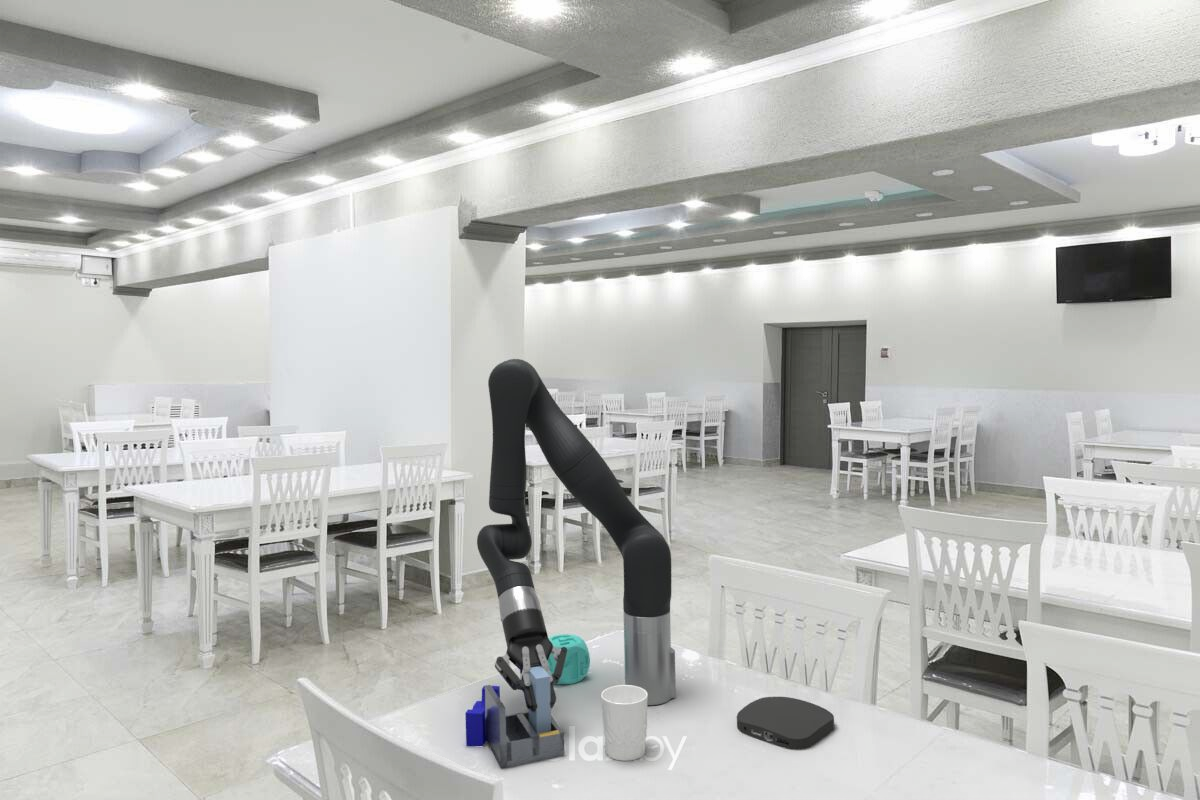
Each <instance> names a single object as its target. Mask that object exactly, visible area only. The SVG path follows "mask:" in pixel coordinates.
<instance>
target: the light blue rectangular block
mask: <svg viewBox="0 0 1200 800" xmlns="http://www.w3.org/2000/svg"><path fill="white" fill-rule="evenodd" d="M530 669H531V670H530V677H531V686H532V687H533V691H534V695H535V700H536V704H537V708H536V711H535V712H531V709H528V711H529V723H530V725H531V726H532V728H533V729H534V731H535V732H536V734H537V735H538V736H539V734H540V733H545V732H550V731H551V716H552V715H551V714H552V712H551V709H552V708H551V706H550V702H551V701H550V676H549V675H548V673H547V672H546V671H545V670H544V668H542V667H541V666H538V667H531V668H530Z"/></svg>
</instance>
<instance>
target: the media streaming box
mask: <svg viewBox="0 0 1200 800" xmlns="http://www.w3.org/2000/svg"><path fill="white" fill-rule="evenodd" d="M736 728H737V730H738V731H739V732H741V733H742V734H744V735H746V736H748V737H752V738H754V739H758V740H760V741H763V742H766V743H769V744H771V745H775V746H777V747H780V748H784V749H788V750H795V751H798V750H800V751H801V750H806V749H809V748H812V747H814V746H815V745H816V744H818V743H819V742H820V741H822V740H823V739H825V738H826V737H827V736H828V735H829V734H831V733H832V732H833V731H834V730H835V715H833V713H832V712H830V711H829V710H828V709H826V708H824V707H822V706H821V705H818V704H814V703H812V702H809V701H807V700H802V699H799V698H794V697H789V696H766V697H765V696H764V697H760V698H758V699H755V700H753V701H752V702H749V703H748V704H747V705H745V706H744V707H743V708H741V709H740V710H739V711H738V712H737V714H736Z"/></svg>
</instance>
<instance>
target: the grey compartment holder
mask: <svg viewBox="0 0 1200 800" xmlns="http://www.w3.org/2000/svg"><path fill="white" fill-rule="evenodd" d="M484 686H485V711H486V743H487V745H488V747H489V749H490V751H491V753H492V755H493V757H494V758H495V760H496V762H497V765H498V766H499V767H500V770H502V769H506V768H507V769H508V768H511V767H512V768H513V767H516V766H520V765H526V764H531V763H535V762H541V761H545V760H550V759H555V758H560V757H565V756H566V755H565V754H566V753H565V750H566V749H565V732H564V731H563V729H562V728H561V726H560V725H559V724H558V722H557V721H556V720H555V719H554V717H553V716H552V715H551V731H550V732H545V733H540V734H539V736H538V735H537V734H536V732H535V731H534V729H533V728H532V726H531V725H530V723H529V710H528V711H523V712H522V711H521V712H517V713H512V714H506V707H505V705H504V703H503V702H502V700H501V698H500V699H499V697H498V696H497V694H496V693H495V691H494V689H493V688H492V686H493V685H491V684H485V685H484Z"/></svg>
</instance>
